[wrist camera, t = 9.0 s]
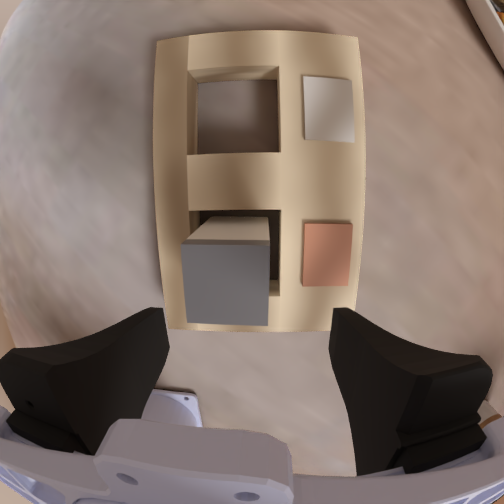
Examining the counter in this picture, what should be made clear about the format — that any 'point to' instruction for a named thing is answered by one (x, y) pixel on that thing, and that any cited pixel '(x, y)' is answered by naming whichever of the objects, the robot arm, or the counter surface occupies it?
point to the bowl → (490, 23)
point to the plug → (227, 271)
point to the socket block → (267, 167)
